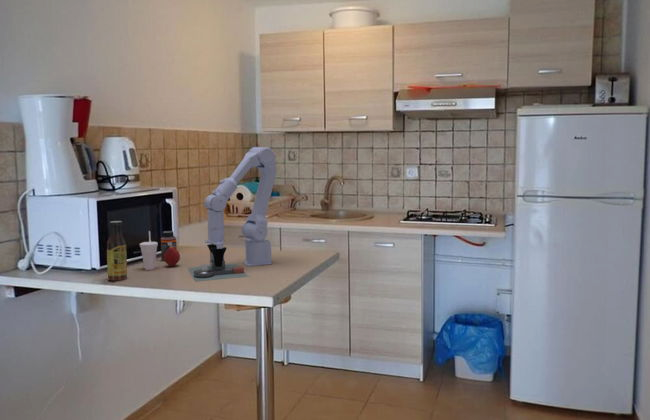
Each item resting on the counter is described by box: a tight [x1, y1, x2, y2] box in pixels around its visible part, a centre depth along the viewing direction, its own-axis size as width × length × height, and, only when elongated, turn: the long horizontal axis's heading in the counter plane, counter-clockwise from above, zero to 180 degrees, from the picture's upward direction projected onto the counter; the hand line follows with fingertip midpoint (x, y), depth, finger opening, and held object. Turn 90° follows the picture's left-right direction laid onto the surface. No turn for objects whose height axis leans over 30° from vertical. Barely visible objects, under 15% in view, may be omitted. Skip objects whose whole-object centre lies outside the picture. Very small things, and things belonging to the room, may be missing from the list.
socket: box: [209, 251, 226, 270], centre depth 206 cm, size 5×5×6 cm
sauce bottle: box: [106, 220, 128, 282], centre depth 192 cm, size 7×6×20 cm
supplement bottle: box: [160, 230, 178, 262], centre depth 223 cm, size 6×6×11 cm
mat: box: [187, 263, 249, 282], centre depth 201 cm, size 18×22×1 cm
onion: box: [163, 246, 181, 267], centre depth 211 cm, size 6×6×8 cm
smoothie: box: [139, 230, 159, 271], centre depth 207 cm, size 6×6×14 cm
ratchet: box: [194, 263, 245, 278], centre depth 197 cm, size 17×7×4 cm, turn 110°
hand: (217, 265), depth 206 cm, fingers closed on socket, 5 cm apart
